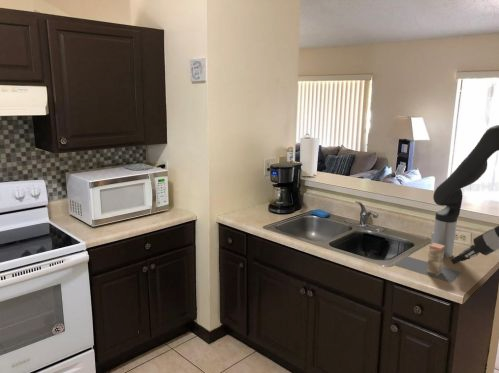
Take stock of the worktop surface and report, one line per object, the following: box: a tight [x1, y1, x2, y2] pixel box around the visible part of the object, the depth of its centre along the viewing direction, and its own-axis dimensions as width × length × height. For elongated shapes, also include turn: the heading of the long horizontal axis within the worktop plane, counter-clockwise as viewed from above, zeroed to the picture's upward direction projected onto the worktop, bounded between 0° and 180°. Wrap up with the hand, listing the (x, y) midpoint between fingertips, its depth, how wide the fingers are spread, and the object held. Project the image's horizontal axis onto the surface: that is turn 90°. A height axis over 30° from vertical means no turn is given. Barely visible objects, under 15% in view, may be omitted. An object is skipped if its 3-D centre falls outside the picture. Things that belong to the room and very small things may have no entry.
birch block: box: [427, 243, 445, 276], centre depth 174 cm, size 4×4×12 cm
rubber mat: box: [394, 256, 463, 283], centre depth 179 cm, size 24×14×1 cm, turn 47°
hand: (452, 261), depth 169 cm, fingers closed
